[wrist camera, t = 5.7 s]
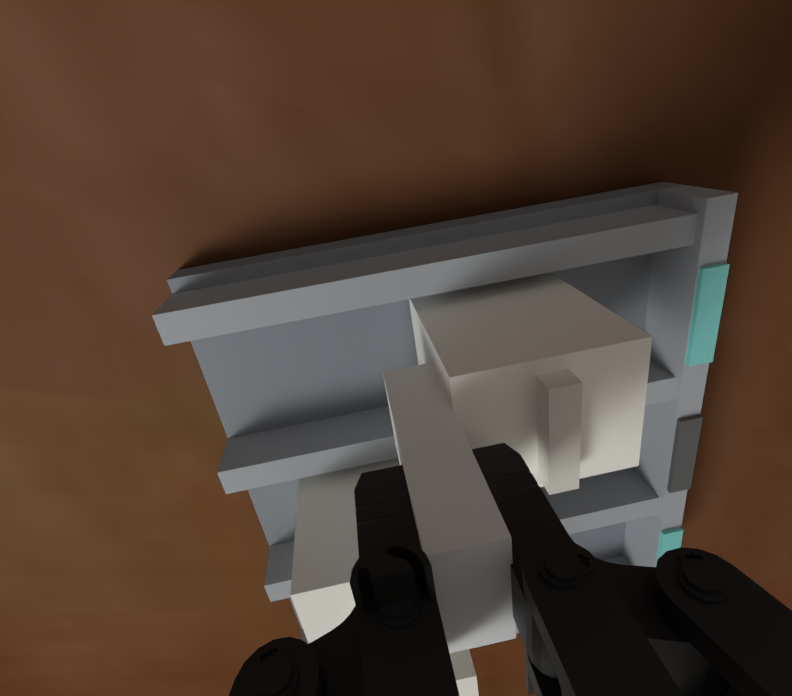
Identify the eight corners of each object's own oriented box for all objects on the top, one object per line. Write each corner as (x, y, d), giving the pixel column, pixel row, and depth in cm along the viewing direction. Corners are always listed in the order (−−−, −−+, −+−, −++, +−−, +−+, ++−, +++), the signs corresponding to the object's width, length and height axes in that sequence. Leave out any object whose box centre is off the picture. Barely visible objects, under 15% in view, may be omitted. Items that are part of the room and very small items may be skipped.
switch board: (177, 269, 16) (139, 305, 13) (663, 181, 17) (743, 193, 14) (309, 625, 25) (306, 701, 22) (625, 552, 26) (669, 614, 23)
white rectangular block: (408, 295, 16) (456, 393, 10) (545, 269, 16) (671, 348, 10) (422, 392, 18) (471, 524, 12) (546, 367, 18) (654, 483, 12)
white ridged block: (300, 460, 18) (288, 618, 12) (422, 434, 19) (467, 577, 13) (322, 531, 20) (321, 700, 14) (433, 507, 21) (478, 662, 14)
